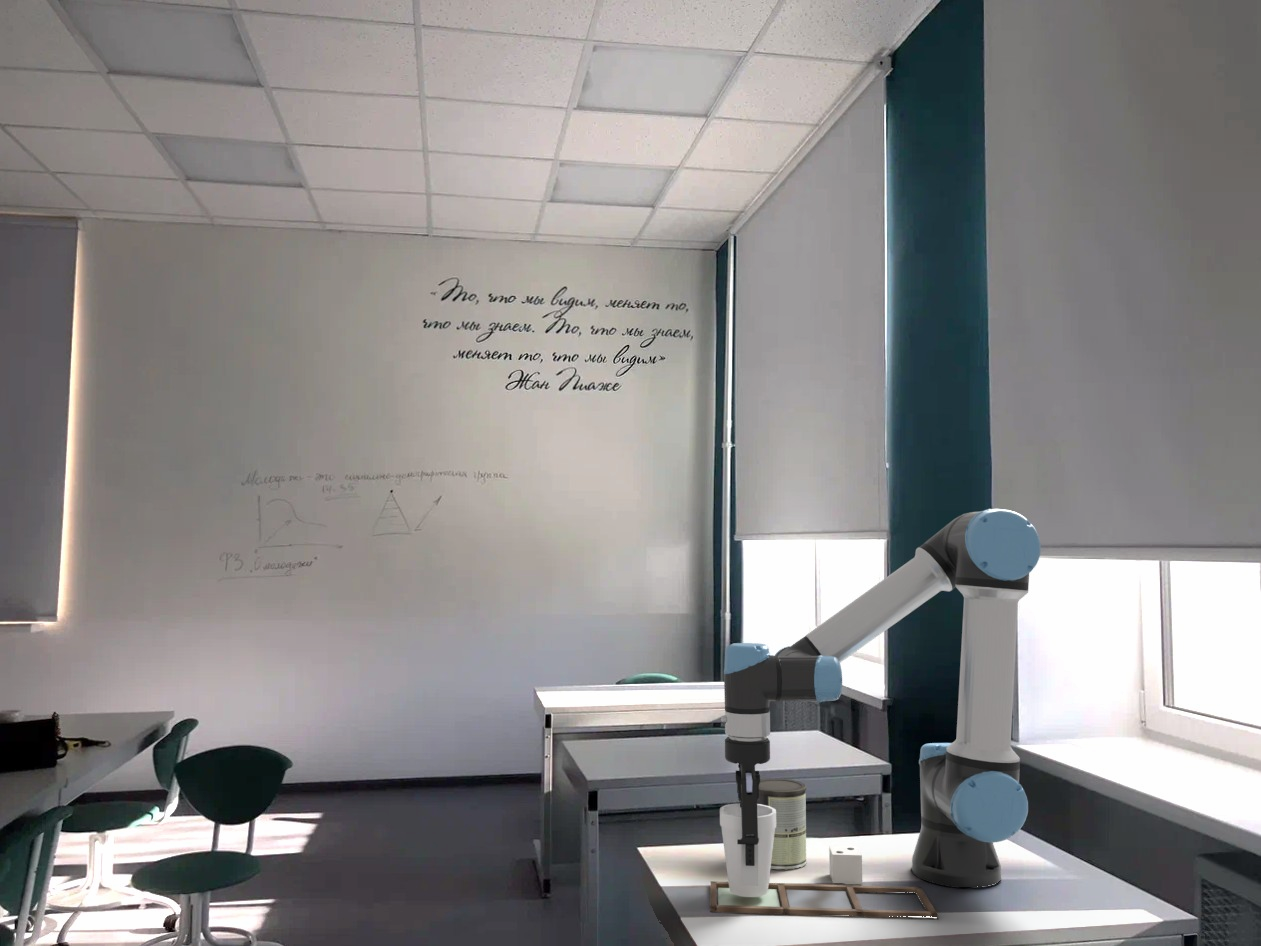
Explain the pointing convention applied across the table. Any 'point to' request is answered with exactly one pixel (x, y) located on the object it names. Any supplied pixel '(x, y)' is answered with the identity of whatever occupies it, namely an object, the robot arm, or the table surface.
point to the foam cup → (731, 834)
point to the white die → (845, 865)
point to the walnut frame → (810, 900)
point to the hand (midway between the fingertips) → (748, 874)
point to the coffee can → (786, 821)
